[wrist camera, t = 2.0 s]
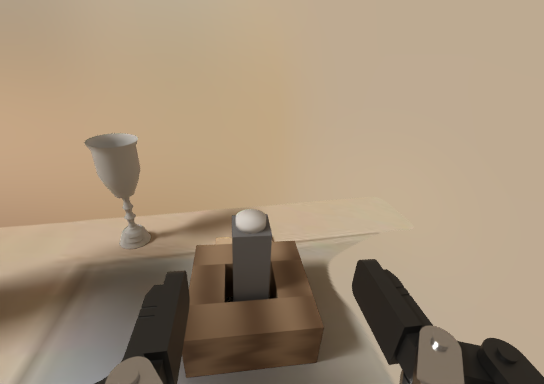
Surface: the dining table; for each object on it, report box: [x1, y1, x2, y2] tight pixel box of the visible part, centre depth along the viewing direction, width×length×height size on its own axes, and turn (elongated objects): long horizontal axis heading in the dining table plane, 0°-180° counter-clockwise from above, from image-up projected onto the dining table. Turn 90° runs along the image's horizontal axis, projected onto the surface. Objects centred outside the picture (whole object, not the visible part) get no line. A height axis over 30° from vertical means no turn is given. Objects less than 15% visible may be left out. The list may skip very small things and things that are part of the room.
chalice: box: [85, 133, 151, 249], centre depth 43 cm, size 7×7×18 cm
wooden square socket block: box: [182, 241, 324, 378], centre depth 33 cm, size 14×14×6 cm
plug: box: [232, 209, 272, 302], centre depth 31 cm, size 4×4×15 cm
